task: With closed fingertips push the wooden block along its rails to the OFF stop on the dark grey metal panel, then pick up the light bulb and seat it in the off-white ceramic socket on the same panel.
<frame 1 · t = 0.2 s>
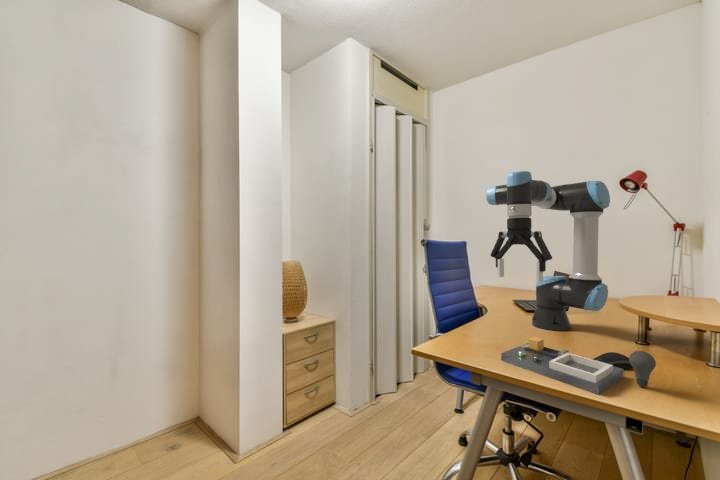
hand: (519, 279, 109), 27 cm above the table, fingers open, 13 cm apart
socket: (580, 378, 94), resting on panel
computer mouse: (613, 366, 103), on the table
light bulb: (641, 387, 88), on the table
panel: (558, 368, 101), on the table
wooden block: (536, 344, 110), point 4 cm above the table, slide at 0.0 cm
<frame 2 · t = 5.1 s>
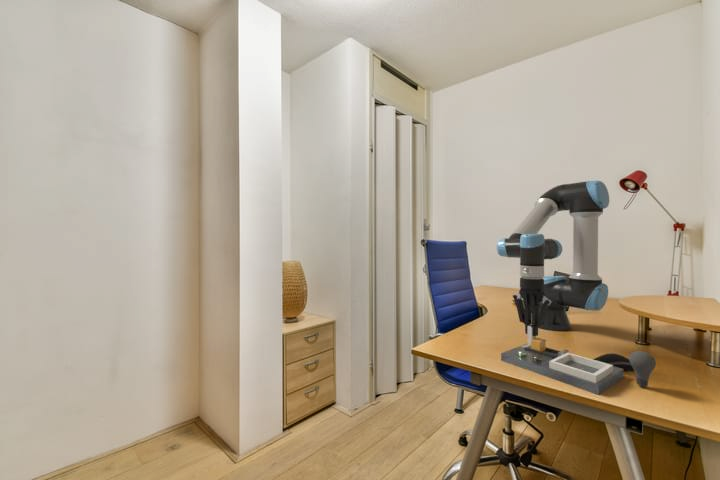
hand: (531, 344, 112), 4 cm above the table, fingers closed
computer mouse: (612, 367, 102), on the table
wooden block: (538, 344, 110), point 4 cm above the table, slide at 0.7 cm, touching gripper
everything else where it was.
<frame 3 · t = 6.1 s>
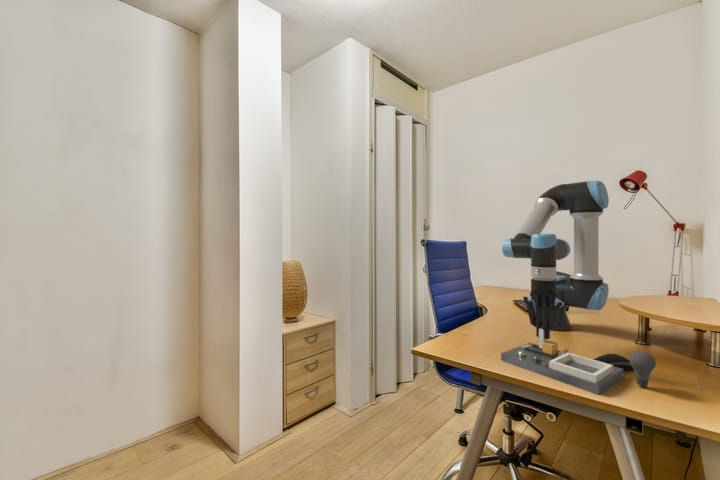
hand: (543, 347, 108), 4 cm above the table, fingers closed
wooden block: (550, 348, 107), point 4 cm above the table, slide at 4.6 cm, touching gripper
everything else where it was.
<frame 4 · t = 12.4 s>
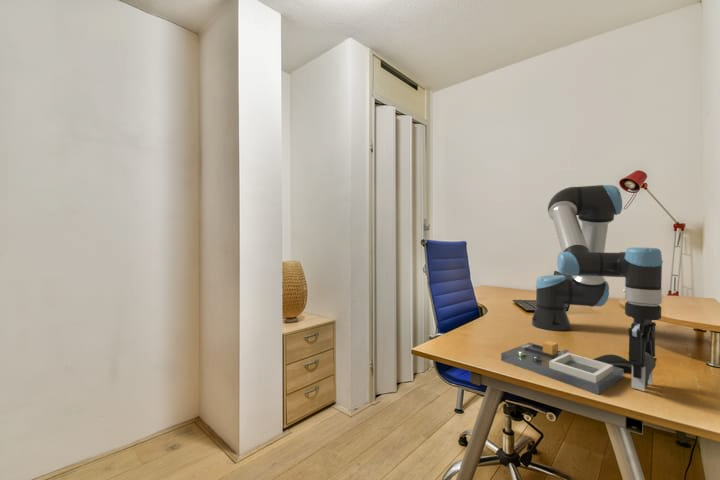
hand: (642, 385, 88), 0 cm above the table, fingers closed on light bulb, 5 cm apart
computer mouse: (611, 369, 101), on the table, touching panel
light bulb: (641, 387, 88), on the table, touching gripper
wooden block: (550, 348, 106), point 4 cm above the table, slide at 4.7 cm
when the fingers open (5 cm above the table, at t = 17.8 s): light bulb drops 2 cm, resting on panel.
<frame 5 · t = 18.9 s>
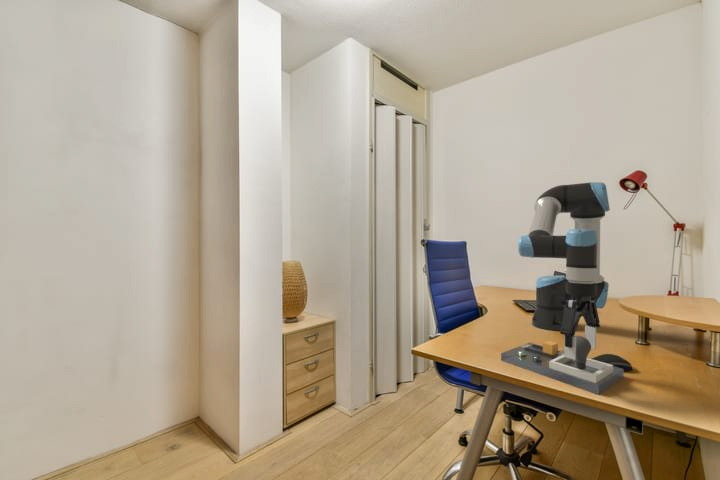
hand: (580, 352, 94), 8 cm above the table, fingers open, 13 cm apart
computer mouse: (609, 368, 101), on the table
light bulb: (581, 370, 94), point 2 cm above the table, touching panel
everything else where it was.
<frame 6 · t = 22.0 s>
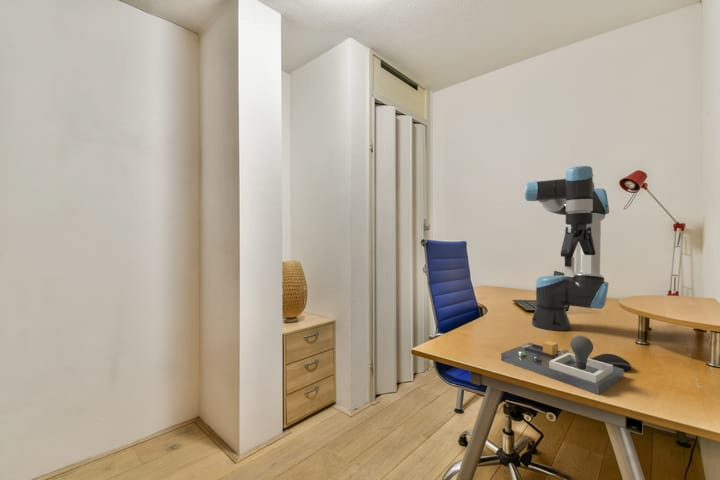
hand: (578, 275, 108), 29 cm above the table, fingers open, 13 cm apart
nothing on the table moved.
at the end: wooden block slide at 4.7 cm; light bulb inside the target area on the socket (0.1 cm from its centre), point 2.3 cm above the socket's base; the gripper is holding nothing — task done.
